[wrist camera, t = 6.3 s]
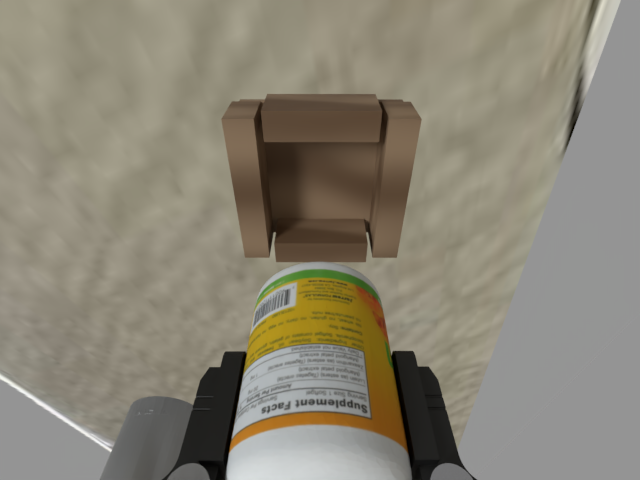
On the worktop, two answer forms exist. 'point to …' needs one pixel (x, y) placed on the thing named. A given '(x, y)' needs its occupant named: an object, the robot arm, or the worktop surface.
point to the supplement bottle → (318, 383)
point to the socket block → (321, 174)
